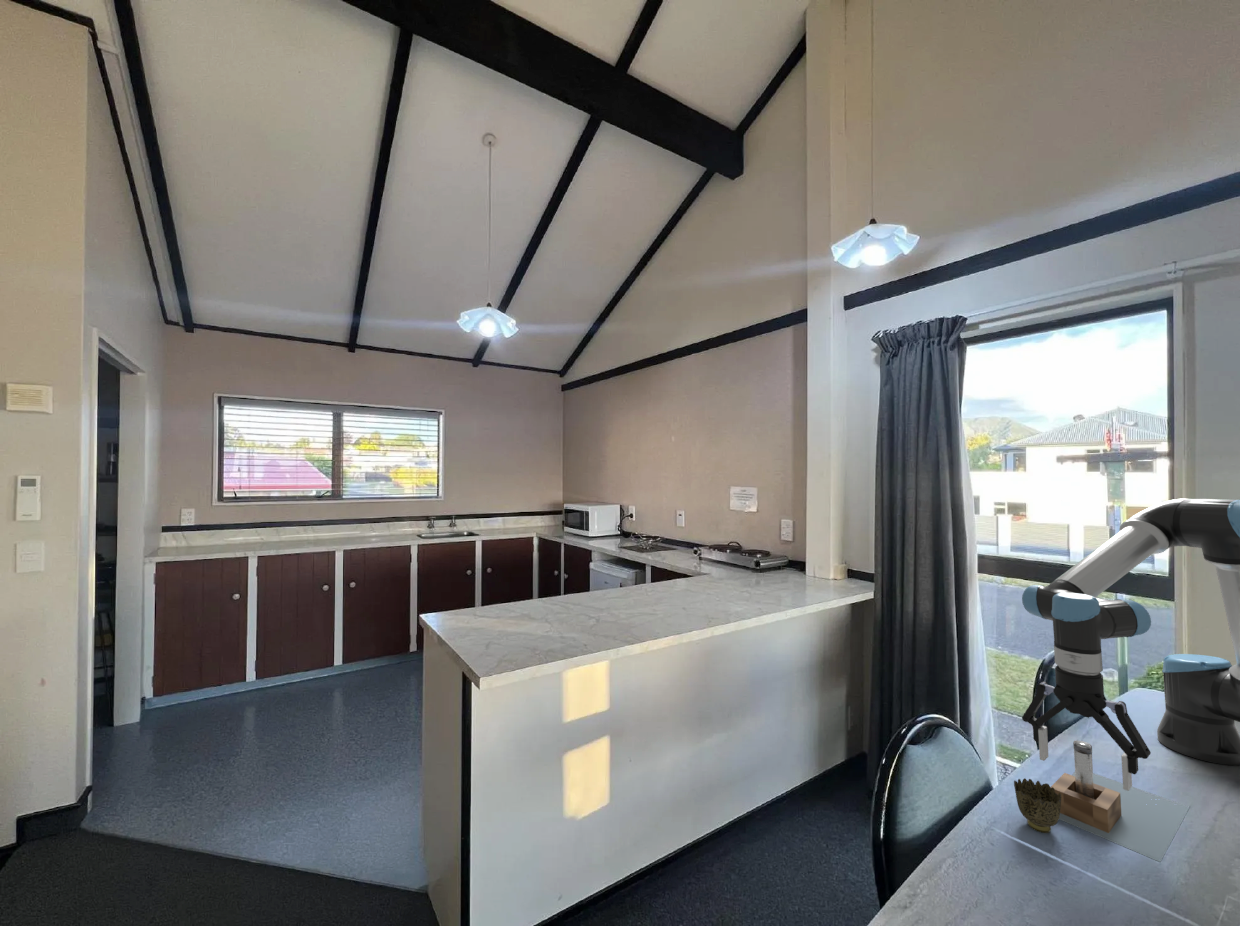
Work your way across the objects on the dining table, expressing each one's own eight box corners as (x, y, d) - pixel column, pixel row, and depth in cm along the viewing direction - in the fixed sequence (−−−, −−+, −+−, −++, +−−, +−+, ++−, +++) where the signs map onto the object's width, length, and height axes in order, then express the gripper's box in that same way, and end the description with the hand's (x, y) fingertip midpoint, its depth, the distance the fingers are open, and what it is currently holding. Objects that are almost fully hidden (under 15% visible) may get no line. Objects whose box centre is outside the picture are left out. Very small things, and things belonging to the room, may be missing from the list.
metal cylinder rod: (1078, 805, 109) (1075, 738, 109) (1097, 812, 106) (1093, 744, 107) (1074, 810, 107) (1071, 743, 108) (1093, 818, 105) (1089, 748, 105)
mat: (1078, 769, 122) (1078, 767, 122) (1189, 808, 107) (1189, 806, 107) (1038, 812, 108) (1037, 810, 108) (1160, 864, 93) (1160, 861, 93)
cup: (1072, 844, 98) (1070, 802, 99) (1029, 839, 100) (1027, 798, 100) (1048, 818, 106) (1046, 779, 106) (1008, 814, 107) (1006, 776, 107)
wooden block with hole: (1065, 793, 113) (1064, 772, 113) (1121, 815, 106) (1120, 792, 106) (1051, 809, 108) (1050, 787, 108) (1108, 833, 101) (1107, 809, 101)
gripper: (1001, 656, 116) (1006, 752, 115) (1158, 693, 95) (1164, 809, 95) (1014, 649, 120) (1019, 741, 119) (1167, 683, 99) (1173, 794, 99)
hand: (1083, 772), depth 107 cm, fingers open, 13 cm apart
